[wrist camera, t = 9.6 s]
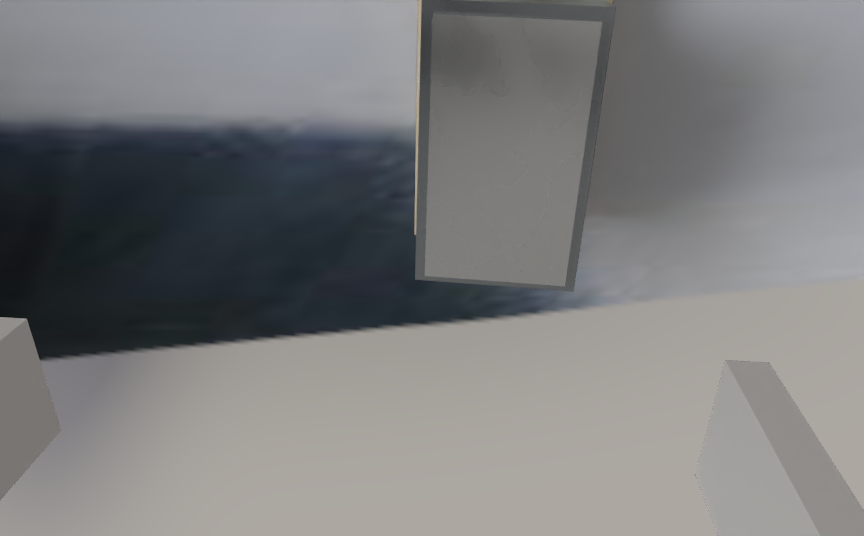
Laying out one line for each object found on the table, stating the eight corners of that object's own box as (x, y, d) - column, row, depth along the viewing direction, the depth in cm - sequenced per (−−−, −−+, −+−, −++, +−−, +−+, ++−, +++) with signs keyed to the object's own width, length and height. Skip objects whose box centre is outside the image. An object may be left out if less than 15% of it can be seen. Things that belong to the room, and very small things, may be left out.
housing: (440, -17, 27) (419, -1, 20) (589, -11, 26) (618, 8, 20) (432, 211, 31) (413, 284, 25) (559, 219, 31) (574, 296, 24)
